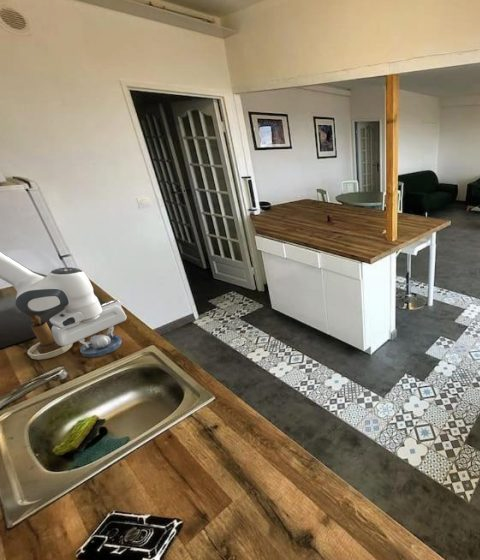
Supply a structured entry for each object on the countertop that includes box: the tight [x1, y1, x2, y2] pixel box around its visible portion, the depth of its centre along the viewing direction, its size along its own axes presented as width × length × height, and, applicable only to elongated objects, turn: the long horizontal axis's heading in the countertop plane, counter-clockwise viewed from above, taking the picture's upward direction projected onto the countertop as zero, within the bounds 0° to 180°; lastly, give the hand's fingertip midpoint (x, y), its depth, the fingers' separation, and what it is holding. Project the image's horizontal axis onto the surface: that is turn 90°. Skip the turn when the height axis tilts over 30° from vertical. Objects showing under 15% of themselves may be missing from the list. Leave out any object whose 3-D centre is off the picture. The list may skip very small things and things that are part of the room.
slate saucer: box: [79, 334, 123, 359], centre depth 117 cm, size 12×12×2 cm
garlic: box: [89, 334, 110, 348], centre depth 116 cm, size 6×5×5 cm
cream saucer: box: [26, 341, 74, 361], centre depth 115 cm, size 12×12×2 cm
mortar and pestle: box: [25, 314, 63, 354], centre depth 112 cm, size 7×6×18 cm
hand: (99, 341), depth 116 cm, fingers closed on garlic, 5 cm apart
